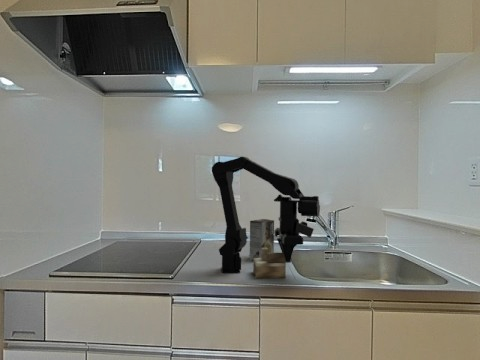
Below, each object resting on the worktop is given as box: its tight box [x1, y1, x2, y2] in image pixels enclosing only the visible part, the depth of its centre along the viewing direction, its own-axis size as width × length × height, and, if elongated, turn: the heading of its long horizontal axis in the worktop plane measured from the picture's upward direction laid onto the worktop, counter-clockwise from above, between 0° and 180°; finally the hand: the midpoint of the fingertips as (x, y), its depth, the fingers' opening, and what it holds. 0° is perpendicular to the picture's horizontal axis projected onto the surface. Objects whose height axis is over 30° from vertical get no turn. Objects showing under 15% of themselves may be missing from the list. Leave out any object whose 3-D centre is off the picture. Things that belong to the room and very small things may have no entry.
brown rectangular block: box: [267, 252, 292, 264], centre depth 125 cm, size 8×2×3 cm, turn 95°
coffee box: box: [249, 218, 275, 261], centre depth 153 cm, size 9×6×16 cm
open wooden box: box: [252, 260, 287, 279], centre depth 128 cm, size 10×8×4 cm
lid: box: [253, 248, 287, 267], centre depth 128 cm, size 10×8×5 cm
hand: (287, 261), depth 125 cm, fingers closed on brown rectangular block, 2 cm apart
